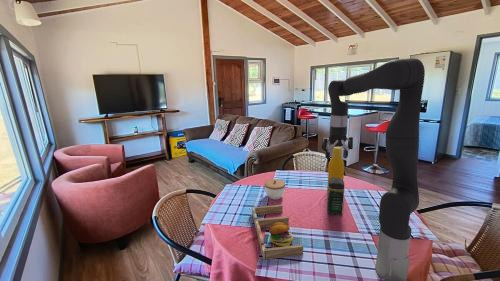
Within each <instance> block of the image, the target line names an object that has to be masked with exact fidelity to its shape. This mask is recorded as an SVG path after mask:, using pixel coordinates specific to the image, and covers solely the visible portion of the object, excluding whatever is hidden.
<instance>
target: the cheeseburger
mask: <svg viewBox="0 0 500 281" xmlns="http://www.w3.org/2000/svg"><path fill="white" fill-rule="evenodd" d="M290 230H291V228H290V226H289V225H287V224H284V223H281V222H277V223H274V224H273V225H272V226H271V227H269V234H270V236H269V241H270V242H271V245H272V246H273V248H277V247H286V246H293V245H292V244H293V241H294V237H293V234H292V233H291V231H290Z"/></svg>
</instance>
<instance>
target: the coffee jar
mask: <svg viewBox="0 0 500 281" xmlns="http://www.w3.org/2000/svg"><path fill="white" fill-rule="evenodd" d="M327 186H328V190H327V202H326V204H327V205H326V210H327V213H328V214H329V215H332V216H341V215H342V214H343V211H344V210H343V208H344V207H343V206H344V197H345V181H344V179H343V180H342V179H340V178H337V177H332V178H330V179H329V184H328V183H327Z"/></svg>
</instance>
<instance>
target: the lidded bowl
mask: <svg viewBox="0 0 500 281" xmlns="http://www.w3.org/2000/svg"><path fill="white" fill-rule="evenodd" d="M285 190H286V182H285V181H284V180H282V179H278V178H273V179H267V180H266V181H265V182H264V191H265V193H266V196H268V198H269V199H272V200H280V199H281V198H282V197H283V196H284V194H285Z"/></svg>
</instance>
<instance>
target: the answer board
mask: <svg viewBox="0 0 500 281" xmlns="http://www.w3.org/2000/svg"><path fill="white" fill-rule="evenodd" d="M283 206H284V205H283V204H276V205H263V206H255V207H251V216H252V219H253V223H254V227H255V232H256V235H257V240H258V243H259V248H260V252H261V256H262V259H263V260H271V259H279V258H280V257H281V258H287V257H288V258H289V257H296V256H303V255H304V245H303V244H295V245H291V246H286V247H277V248H276V247H270V248H266V246H265V240H264V238H263V233H262V230H261V229H263V228H270V227H271V226H272V225H273V224H274V223H277V222H281V223H284V224H287V225H288V226H289V225H290V223H289V220H290V218H289V216H279V217H270V218H259V219H258V216H261V215H269V214H279V213H281V214H282V213H284V212H283V211H284V210H283V208H284V207H283Z"/></svg>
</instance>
